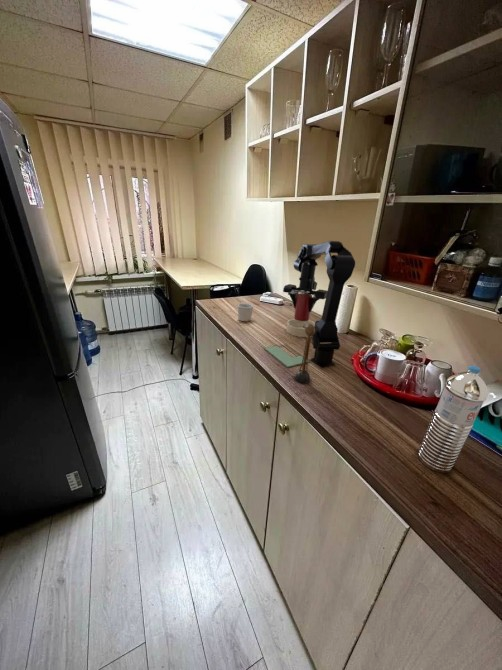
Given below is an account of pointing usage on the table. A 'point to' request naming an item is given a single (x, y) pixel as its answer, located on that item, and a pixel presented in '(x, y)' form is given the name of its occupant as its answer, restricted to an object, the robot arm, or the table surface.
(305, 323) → the bowl
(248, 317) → the cup
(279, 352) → the mat
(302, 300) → the can
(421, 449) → the water bottle
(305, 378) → the wooden tabletop sculpture
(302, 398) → the table surface
